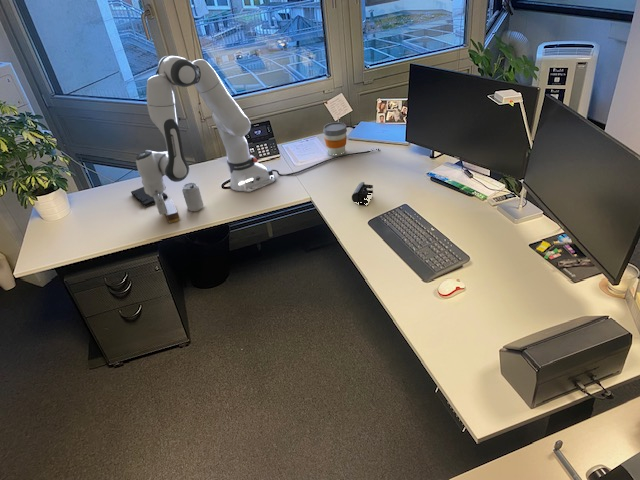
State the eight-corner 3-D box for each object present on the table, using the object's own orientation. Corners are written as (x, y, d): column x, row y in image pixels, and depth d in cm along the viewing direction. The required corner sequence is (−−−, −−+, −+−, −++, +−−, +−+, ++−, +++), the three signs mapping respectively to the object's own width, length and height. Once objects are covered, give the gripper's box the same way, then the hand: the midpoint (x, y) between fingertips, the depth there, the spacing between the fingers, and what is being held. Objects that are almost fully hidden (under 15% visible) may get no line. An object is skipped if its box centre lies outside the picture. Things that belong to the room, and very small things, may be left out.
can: (200, 212, 215) (193, 189, 208) (185, 211, 216) (178, 189, 209) (206, 203, 221) (200, 181, 214) (192, 203, 222) (185, 181, 215)
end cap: (358, 194, 215) (357, 181, 211) (373, 195, 213) (372, 182, 209) (351, 205, 208) (351, 191, 204) (367, 206, 205) (366, 193, 201)
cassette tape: (131, 195, 235) (130, 191, 234) (153, 186, 241) (151, 182, 239) (145, 207, 223) (144, 203, 222) (167, 198, 229) (166, 194, 228)
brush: (174, 207, 221) (171, 199, 218) (180, 220, 210) (177, 212, 208) (163, 210, 220) (161, 202, 217) (169, 224, 209) (166, 215, 206)
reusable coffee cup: (337, 145, 261) (335, 120, 252) (352, 151, 253) (351, 125, 244) (320, 153, 255) (318, 127, 246) (335, 159, 247) (333, 133, 238)
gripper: (165, 194, 198) (174, 221, 206) (158, 176, 213) (166, 201, 221) (150, 198, 196) (159, 225, 204) (144, 179, 211) (152, 205, 219)
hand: (163, 213), depth 213 cm, fingers closed, pressing on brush
